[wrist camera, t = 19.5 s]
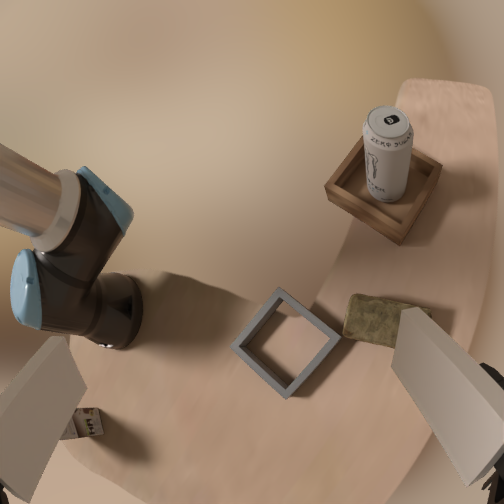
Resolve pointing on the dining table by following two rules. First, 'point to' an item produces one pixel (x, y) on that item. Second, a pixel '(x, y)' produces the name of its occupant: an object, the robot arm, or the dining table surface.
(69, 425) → the coffee box
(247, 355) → the tray
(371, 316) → the stone block
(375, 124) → the energy drink can
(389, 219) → the walnut bin
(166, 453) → the dining table surface
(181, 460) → the dining table surface
